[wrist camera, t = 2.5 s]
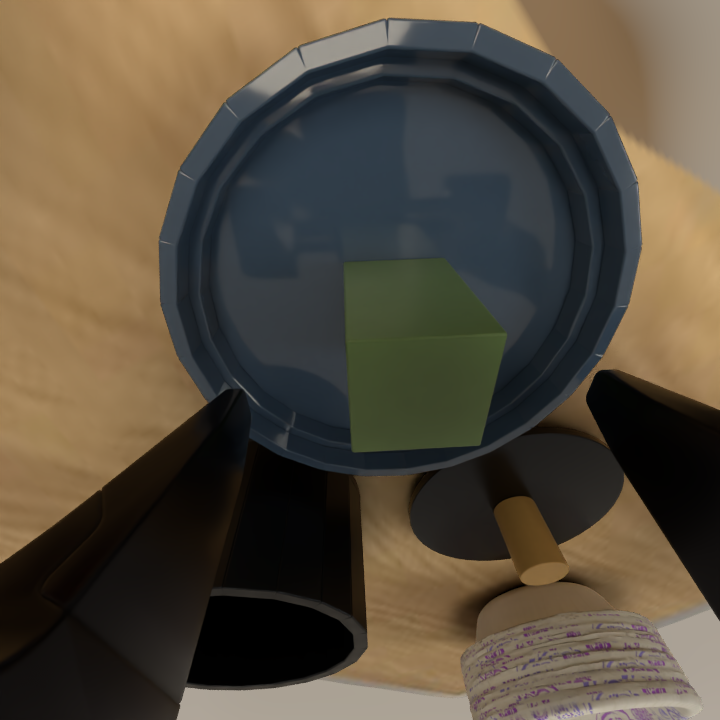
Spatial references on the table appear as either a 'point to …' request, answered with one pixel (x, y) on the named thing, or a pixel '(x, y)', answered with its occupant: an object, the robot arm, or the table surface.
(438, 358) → the green block
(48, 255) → the table surface
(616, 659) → the paper bowls
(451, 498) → the tin lid
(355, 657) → the tin
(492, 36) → the blue-grey round rimmed part
